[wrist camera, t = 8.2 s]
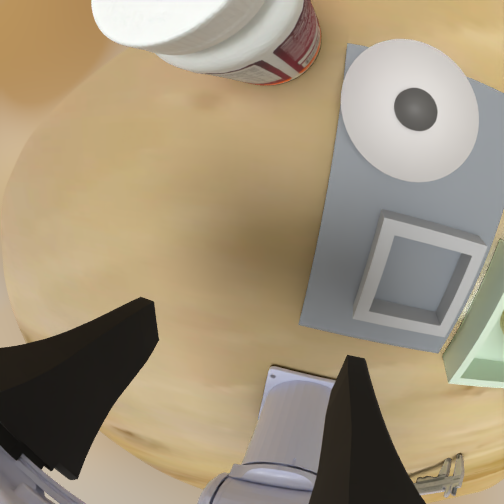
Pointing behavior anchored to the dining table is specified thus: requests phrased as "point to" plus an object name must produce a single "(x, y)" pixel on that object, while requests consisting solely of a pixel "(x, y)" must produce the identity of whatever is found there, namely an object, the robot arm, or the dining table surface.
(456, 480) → the caliper
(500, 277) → the tray
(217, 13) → the pill bottle
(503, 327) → the lock pin
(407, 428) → the dining table surface
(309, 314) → the board
